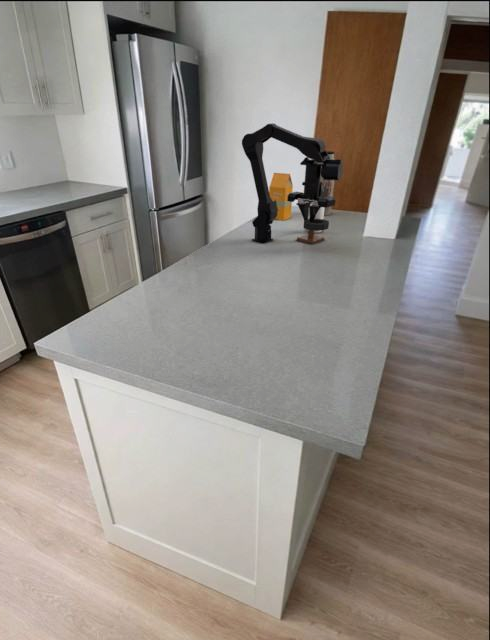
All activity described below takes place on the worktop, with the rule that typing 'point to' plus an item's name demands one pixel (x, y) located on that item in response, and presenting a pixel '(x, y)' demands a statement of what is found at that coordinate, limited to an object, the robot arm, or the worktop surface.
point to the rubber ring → (316, 224)
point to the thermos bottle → (328, 186)
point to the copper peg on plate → (310, 238)
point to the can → (318, 215)
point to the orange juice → (281, 194)
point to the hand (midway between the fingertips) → (308, 223)
